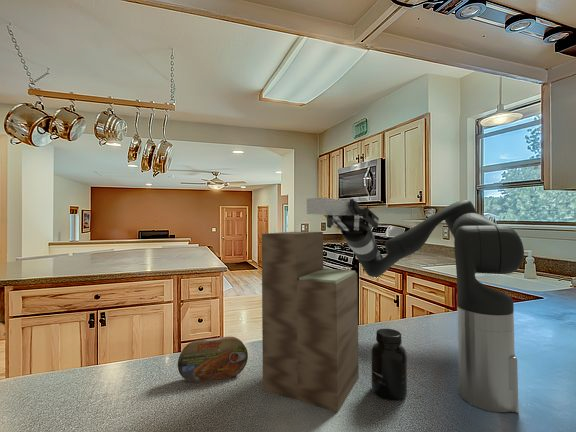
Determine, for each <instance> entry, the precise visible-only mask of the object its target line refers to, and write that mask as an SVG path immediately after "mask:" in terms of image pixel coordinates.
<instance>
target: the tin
mask: <svg viewBox="0 0 576 432" xmlns="http://www.w3.org/2000/svg"><path fill="white" fill-rule="evenodd" d="M248 354H249V353H248V349H247V346H246V345H245V344H244V342H243V341H242V340H241V339H239V338H238V337H235V336H223V337H216V338H215V337H214V338H208V339H207V338H206V339H198V340H196V339H195V340H194V341H191V342H189V343H188V344H186V346H184V347H183V349H182V350H181V352H180V354H179V357H178V359H177V370H178V373H179V374H180V376H181V377H182V378H183V379H184V380H185V381H187V382H189V383H201V382H202V383H203V382H207V381H213V380H214V381H215V380H221V379H228V378H232V377H235V376H237V375H239V374H240V373H241V372H243V370H244V369H245V368H246V365H247V363H248V360H249V359H248V358H249V355H248Z"/></svg>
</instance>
